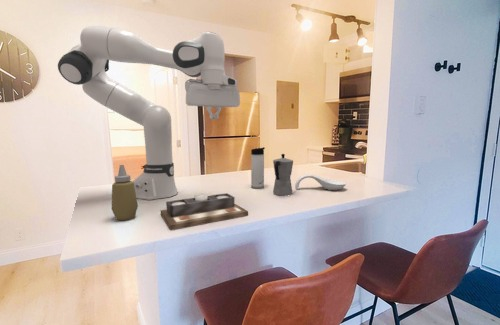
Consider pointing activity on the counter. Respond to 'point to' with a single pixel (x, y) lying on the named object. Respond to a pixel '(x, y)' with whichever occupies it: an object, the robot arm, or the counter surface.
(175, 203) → the button left
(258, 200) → the counter surface
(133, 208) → the squeeze bottle
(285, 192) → the coffeepot
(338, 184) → the spoon rest
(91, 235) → the counter surface
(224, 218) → the button board
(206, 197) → the button middle
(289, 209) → the counter surface
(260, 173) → the travel mug
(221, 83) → the robot arm
